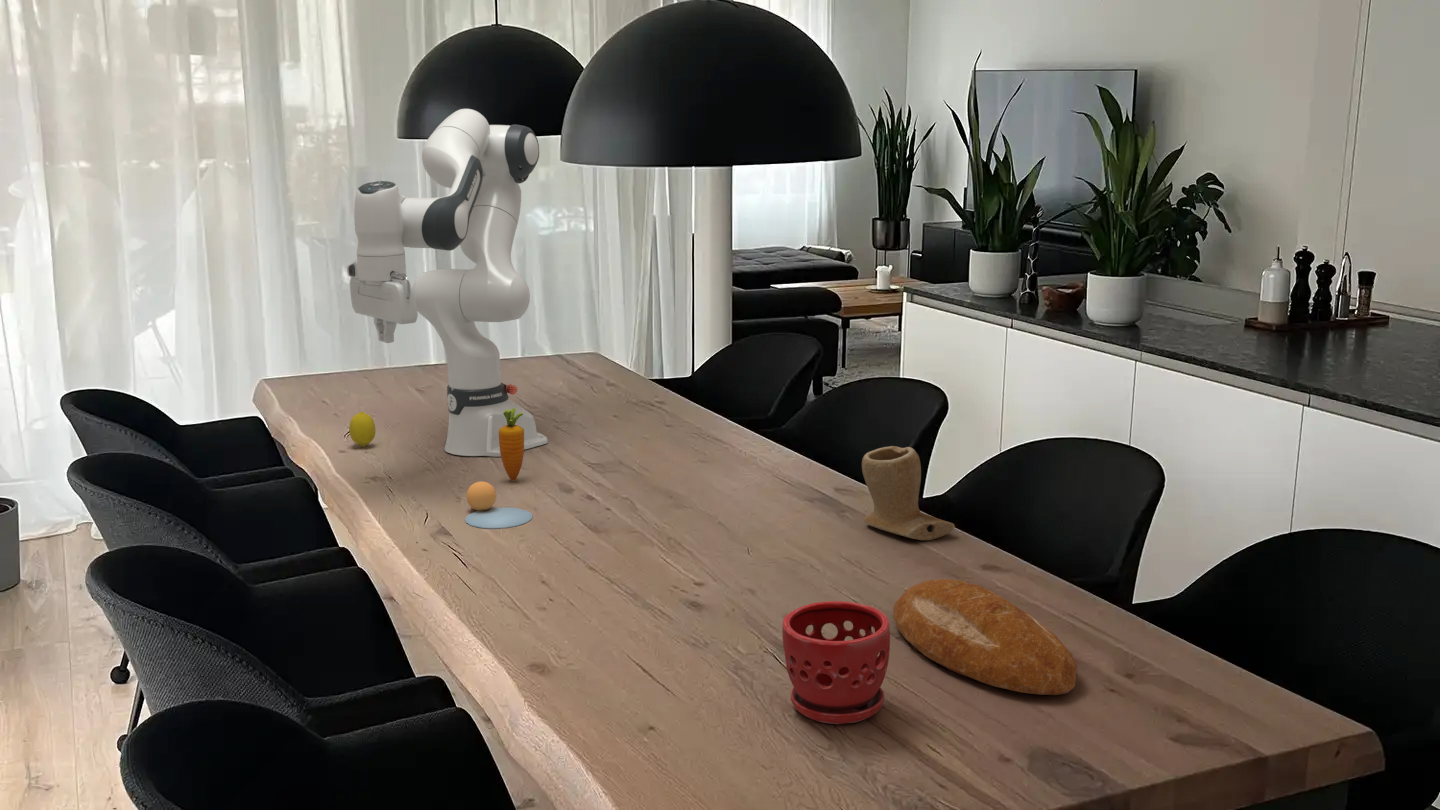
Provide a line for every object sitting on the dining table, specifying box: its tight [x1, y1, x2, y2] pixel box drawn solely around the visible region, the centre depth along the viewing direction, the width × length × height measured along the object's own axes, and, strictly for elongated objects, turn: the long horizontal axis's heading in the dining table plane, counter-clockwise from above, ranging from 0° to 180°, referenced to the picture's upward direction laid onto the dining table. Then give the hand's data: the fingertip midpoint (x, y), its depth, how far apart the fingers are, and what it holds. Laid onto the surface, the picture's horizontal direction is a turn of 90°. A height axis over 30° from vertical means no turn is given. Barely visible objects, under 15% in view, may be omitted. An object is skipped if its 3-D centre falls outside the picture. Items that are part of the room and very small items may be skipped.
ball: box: [466, 481, 497, 511], centre depth 248 cm, size 5×5×5 cm
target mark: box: [464, 506, 533, 530], centre depth 244 cm, size 12×12×1 cm
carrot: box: [499, 408, 525, 482], centre depth 265 cm, size 5×5×15 cm
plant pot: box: [781, 600, 891, 725], centre depth 166 cm, size 13×13×12 cm
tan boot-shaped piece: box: [861, 445, 956, 541], centre depth 233 cm, size 15×12×15 cm
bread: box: [893, 578, 1078, 696], centre depth 183 cm, size 18×35×9 cm, turn 24°
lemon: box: [348, 411, 376, 448], centre depth 293 cm, size 6×6×8 cm
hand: (386, 341), depth 256 cm, fingers closed
